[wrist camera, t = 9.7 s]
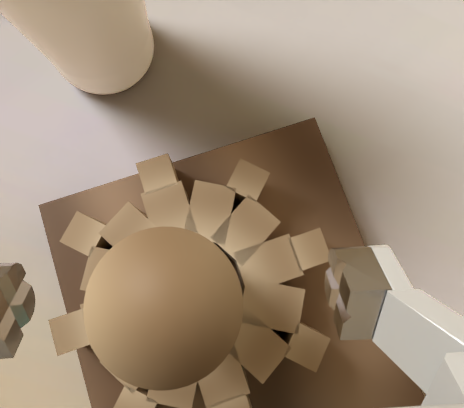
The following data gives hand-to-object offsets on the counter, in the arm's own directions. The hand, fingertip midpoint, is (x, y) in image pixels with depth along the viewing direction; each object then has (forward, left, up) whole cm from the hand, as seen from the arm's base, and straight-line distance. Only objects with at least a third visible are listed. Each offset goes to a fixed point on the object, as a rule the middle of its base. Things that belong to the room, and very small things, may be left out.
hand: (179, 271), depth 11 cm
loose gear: (0, -1, -8) cm, 8 cm away
